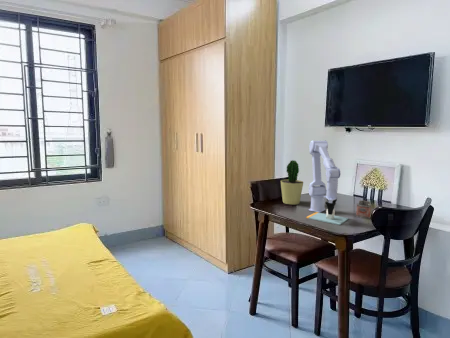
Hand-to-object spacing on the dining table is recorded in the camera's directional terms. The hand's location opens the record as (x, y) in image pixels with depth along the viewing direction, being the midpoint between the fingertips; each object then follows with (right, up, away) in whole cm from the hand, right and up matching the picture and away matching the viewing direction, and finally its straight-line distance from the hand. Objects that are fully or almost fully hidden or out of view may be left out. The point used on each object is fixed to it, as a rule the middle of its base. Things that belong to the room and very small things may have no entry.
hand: (330, 212), depth 186 cm
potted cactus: (-15, +2, +39) cm, 42 cm away
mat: (-1, -4, +1) cm, 4 cm away
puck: (0, -3, 0) cm, 3 cm away
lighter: (+21, -4, +5) cm, 22 cm away
